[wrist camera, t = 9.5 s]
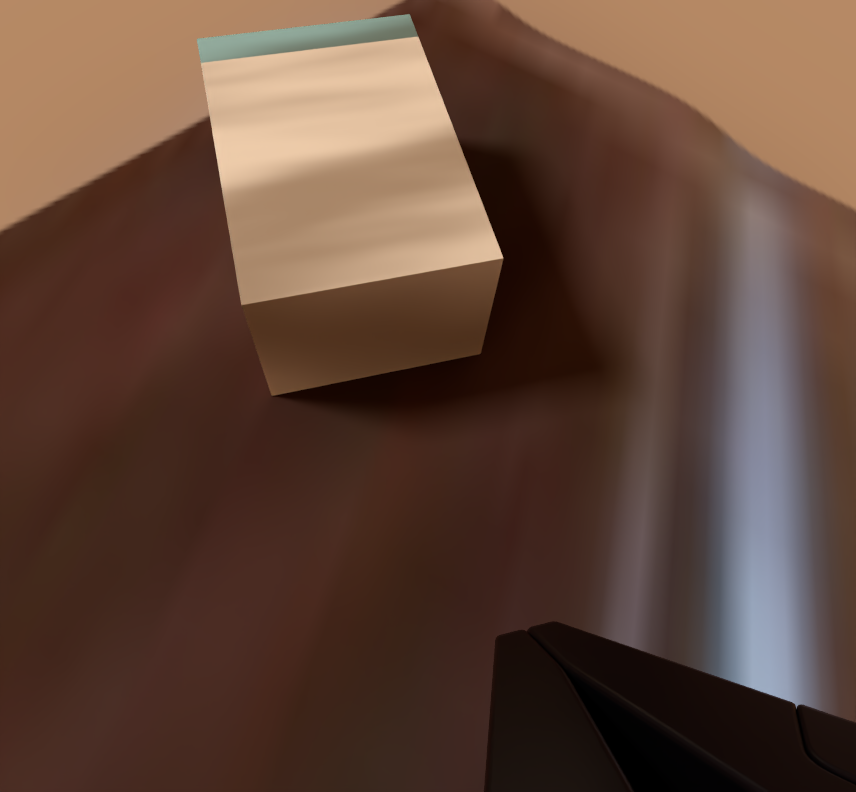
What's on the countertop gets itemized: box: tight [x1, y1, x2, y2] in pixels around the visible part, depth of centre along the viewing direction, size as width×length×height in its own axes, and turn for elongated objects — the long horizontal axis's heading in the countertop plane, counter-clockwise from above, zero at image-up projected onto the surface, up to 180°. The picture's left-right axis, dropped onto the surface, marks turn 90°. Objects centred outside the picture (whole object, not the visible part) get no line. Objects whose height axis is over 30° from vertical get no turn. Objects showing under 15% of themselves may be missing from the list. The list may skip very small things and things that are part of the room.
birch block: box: [197, 14, 503, 396], centre depth 19 cm, size 4×6×9 cm
